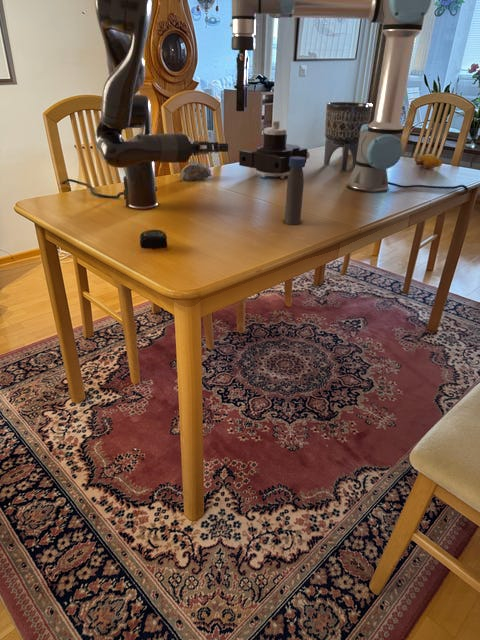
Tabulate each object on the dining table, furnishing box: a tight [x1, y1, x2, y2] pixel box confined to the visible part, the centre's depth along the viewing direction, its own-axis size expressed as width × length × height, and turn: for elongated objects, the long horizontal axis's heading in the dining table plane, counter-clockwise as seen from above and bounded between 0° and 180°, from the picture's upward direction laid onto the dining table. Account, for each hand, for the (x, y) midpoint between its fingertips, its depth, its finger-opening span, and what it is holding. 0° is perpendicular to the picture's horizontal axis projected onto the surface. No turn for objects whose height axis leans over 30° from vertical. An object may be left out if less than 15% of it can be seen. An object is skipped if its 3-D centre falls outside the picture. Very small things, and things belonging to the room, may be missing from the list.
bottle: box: [284, 167, 305, 226], centre depth 134 cm, size 5×5×18 cm
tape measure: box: [139, 229, 168, 250], centre depth 117 cm, size 7×7×4 cm
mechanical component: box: [238, 120, 311, 179], centre depth 191 cm, size 22×21×30 cm
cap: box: [289, 156, 306, 169], centre depth 130 cm, size 5×5×2 cm
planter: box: [323, 101, 374, 172], centre depth 204 cm, size 20×20×26 cm
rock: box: [179, 160, 213, 182], centre depth 182 cm, size 13×9×6 cm, turn 131°
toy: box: [413, 153, 443, 170], centre depth 212 cm, size 11×6×15 cm
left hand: (219, 148), depth 134 cm, fingers open, 8 cm apart
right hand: (241, 109), depth 155 cm, fingers open, 13 cm apart
